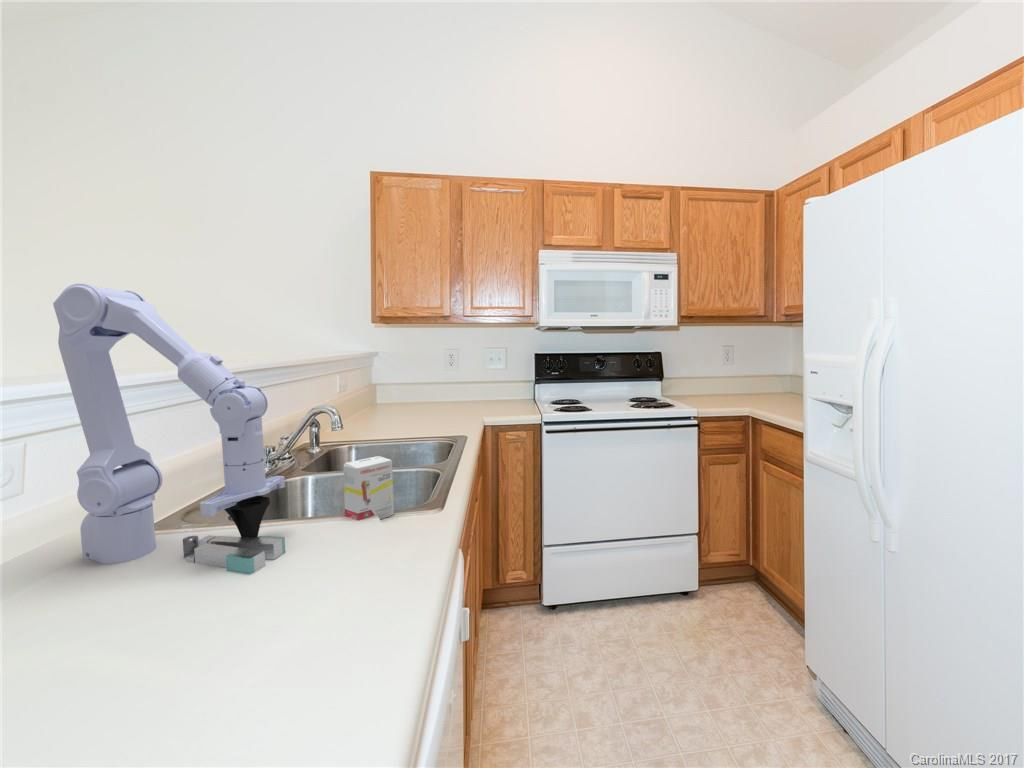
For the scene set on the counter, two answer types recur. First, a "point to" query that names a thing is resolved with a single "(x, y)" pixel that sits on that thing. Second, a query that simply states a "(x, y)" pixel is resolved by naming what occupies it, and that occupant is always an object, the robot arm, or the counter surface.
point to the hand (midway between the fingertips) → (249, 543)
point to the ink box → (368, 488)
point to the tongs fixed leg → (223, 556)
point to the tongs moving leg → (250, 543)
